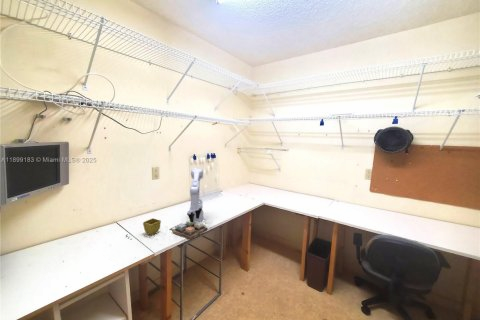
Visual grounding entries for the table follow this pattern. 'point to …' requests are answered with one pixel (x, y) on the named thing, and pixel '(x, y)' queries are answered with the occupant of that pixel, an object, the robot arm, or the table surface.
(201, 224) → the key cream
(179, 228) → the key slate
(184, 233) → the keypad
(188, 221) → the key sage
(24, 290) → the table surface
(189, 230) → the key terracotta
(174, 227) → the card
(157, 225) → the flower pot
